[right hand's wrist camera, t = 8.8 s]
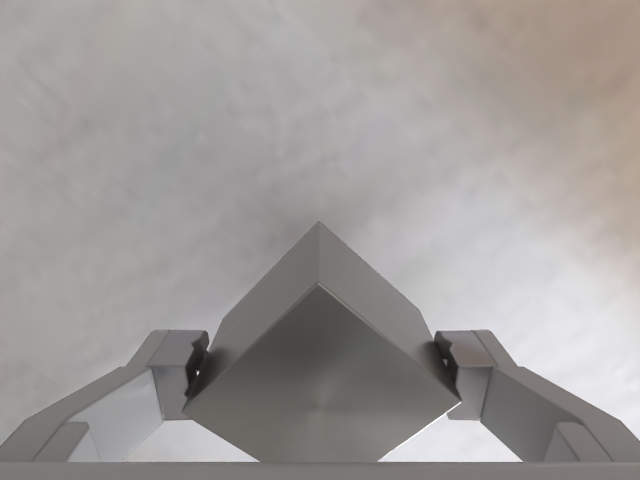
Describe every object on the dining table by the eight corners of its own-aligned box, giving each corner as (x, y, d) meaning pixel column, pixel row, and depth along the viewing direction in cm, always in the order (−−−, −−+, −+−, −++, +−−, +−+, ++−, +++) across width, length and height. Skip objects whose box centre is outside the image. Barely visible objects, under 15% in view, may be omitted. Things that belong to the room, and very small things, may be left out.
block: (322, 390, 13) (322, 501, 10) (222, 318, 12) (179, 413, 8) (419, 309, 12) (464, 401, 8) (319, 220, 11) (318, 281, 7)
